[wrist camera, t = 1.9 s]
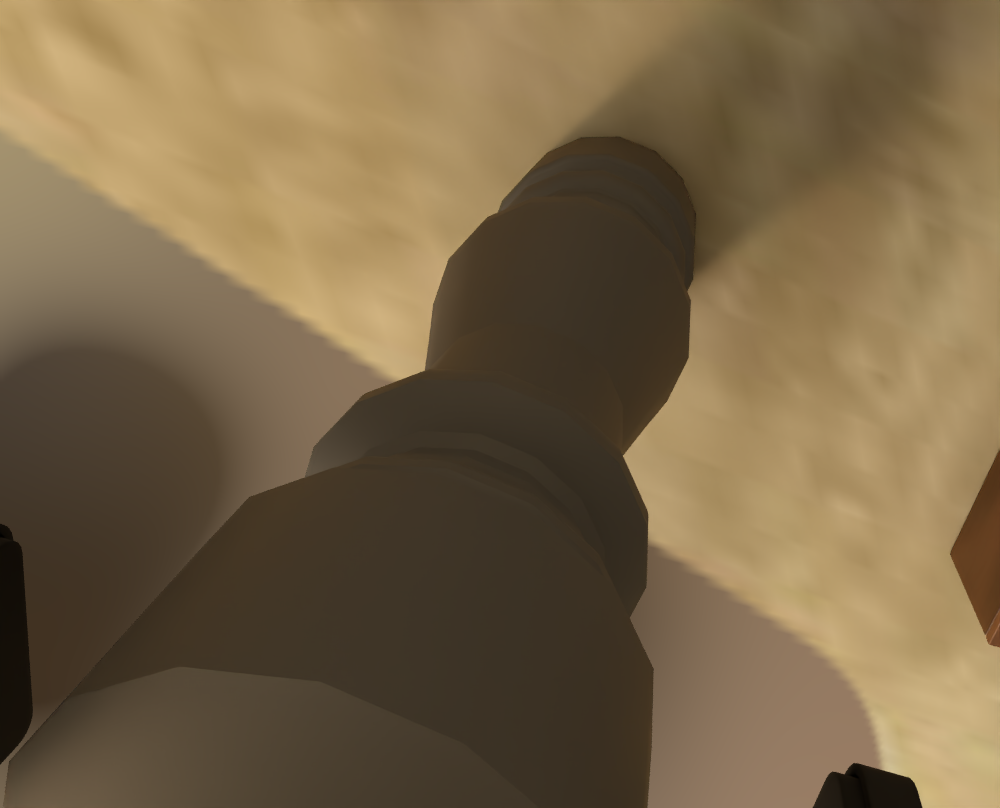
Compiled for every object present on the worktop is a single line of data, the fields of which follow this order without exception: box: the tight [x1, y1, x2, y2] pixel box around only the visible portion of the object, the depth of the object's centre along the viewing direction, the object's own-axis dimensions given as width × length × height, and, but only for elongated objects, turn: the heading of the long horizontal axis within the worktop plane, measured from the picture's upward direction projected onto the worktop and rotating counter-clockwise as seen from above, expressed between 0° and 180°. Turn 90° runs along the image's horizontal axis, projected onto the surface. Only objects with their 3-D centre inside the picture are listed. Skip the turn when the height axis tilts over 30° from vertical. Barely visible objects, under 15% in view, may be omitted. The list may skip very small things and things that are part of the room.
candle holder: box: [3, 137, 696, 808], centre depth 19 cm, size 6×6×25 cm
